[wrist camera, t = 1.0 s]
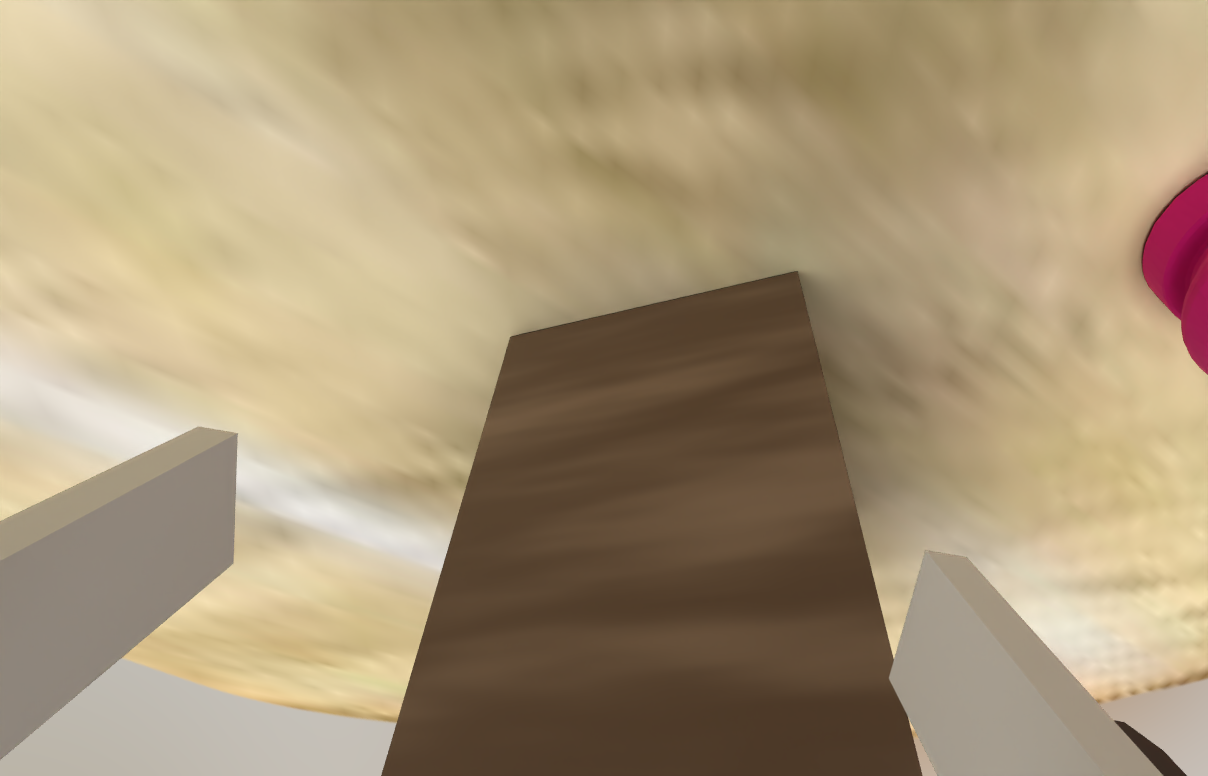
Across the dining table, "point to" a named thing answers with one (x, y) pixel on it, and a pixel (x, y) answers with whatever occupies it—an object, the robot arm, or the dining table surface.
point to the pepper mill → (1183, 265)
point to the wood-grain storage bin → (658, 563)
